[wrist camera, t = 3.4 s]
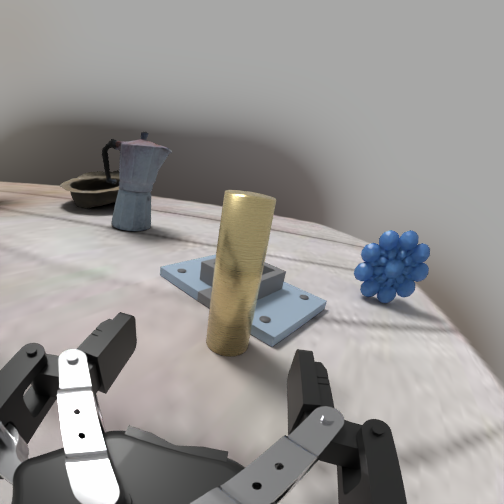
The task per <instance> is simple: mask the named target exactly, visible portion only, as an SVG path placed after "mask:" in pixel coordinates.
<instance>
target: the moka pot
mask: <svg viewBox="0 0 504 504" xmlns="http://www.w3.org/2000/svg"><path fill="white" fill-rule="evenodd" d="M147 136H148V133H147V132H142V133H141V140H135V141H130V142H123V141H116V140H114V139H111V141H109V143H108V144H106V146H105V147H104V148H103V150H102V156H103V162H104V169H105V175H106V181H107V182H108V183H111V184H116V182H117V180H115V179H114V180H113V179H112V178H111V175H110V172H109V170H110V169H109V161H108V153H107V151H108V149H109V148H114V149H116V150H120V169H119V179H120V181H119V191H118V195H117V199H116V203H115V208H114V212H113V217H112V223H111V224H112V225H113V226H114V227H116V228H118V229H121V230H127V231H144V230H147V229H149V228H150V227H151V192H150V191H151V190H152V187H153V183H154V182H155V180H156V176H157V173H158V170H159V168H160V167H161V166H162V164H163V162H164V161H165V159H166V158H167V156H168V155H169V154H170V153H172V151H171V150H169V148H167V147H164V146H160V145H157V144H154V143H152V142H149V141H147V140H146V138H147Z"/></svg>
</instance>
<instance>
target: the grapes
mask: <svg viewBox="0 0 504 504" xmlns="http://www.w3.org/2000/svg"><path fill="white" fill-rule="evenodd" d="M417 244H418V235H417V233H416V232H414V231H411V230H410V231H407V232H404V233H403V234H402V236H401V237H400V238H399V235H398V233H396V232H395V231H392V230H390V231H387V232H384V234H382V236H381V237H380V238H379V245H378V244H376V243H371V244H368V245H366V246H365V247H364V248H363V250H362V253H361V256H362V259H363V261H366V262H363V263H360V264H359V265H358V266H357V267H356V268H355V271H354V275H355V278H356V279H357V280H360V281H364V282H363V284H362V285H361V289H360V290H361V293H362V295H364V296H366V297H371V296H374V295H376V294H377V298H378V300H379V301H380V302H382V303H388V302H390V301H392V300H393V299H394V298H395V296H396V292H397V294H398V295H399V296H401V297H408V296H410V295H411V294H412V293H413V292H414V290H415V282H414V281H416V282H418V281H422V280H424V279H425V278H426V277H427V275H428V269H429V268H428V266H427V265H426V264H425V263H422V262H424V261H426V260H427V259H428V257H429V255H430V248H429V247H428V245H426V244H423V243H422V244H418V245H417Z"/></svg>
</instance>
